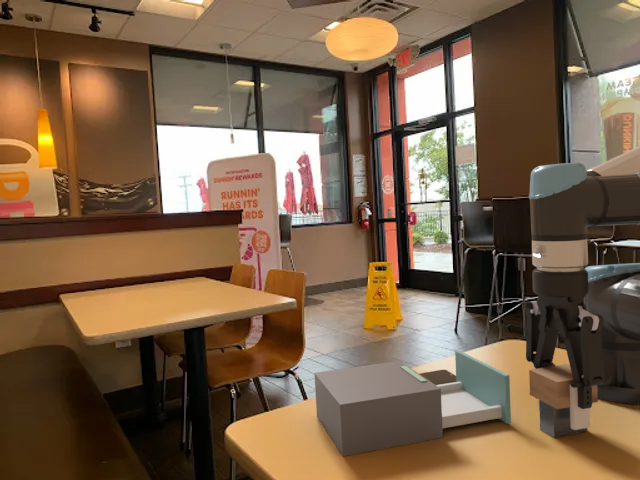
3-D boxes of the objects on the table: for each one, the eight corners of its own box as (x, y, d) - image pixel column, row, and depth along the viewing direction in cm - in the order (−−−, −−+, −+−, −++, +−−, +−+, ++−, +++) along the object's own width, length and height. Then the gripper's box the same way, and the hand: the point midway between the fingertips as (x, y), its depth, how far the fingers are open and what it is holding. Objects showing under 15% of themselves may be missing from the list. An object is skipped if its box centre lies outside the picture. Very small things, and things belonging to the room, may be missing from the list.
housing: (401, 401, 89) (399, 359, 88) (442, 437, 74) (440, 387, 74) (316, 415, 85) (314, 371, 84) (342, 456, 70) (339, 403, 70)
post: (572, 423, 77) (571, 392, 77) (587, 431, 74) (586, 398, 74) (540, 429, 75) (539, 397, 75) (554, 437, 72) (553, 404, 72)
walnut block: (567, 388, 78) (566, 363, 78) (597, 402, 72) (597, 375, 72) (530, 394, 76) (529, 369, 76) (557, 409, 71) (557, 382, 70)
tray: (460, 390, 92) (458, 350, 91) (510, 422, 77) (509, 375, 77) (381, 403, 88) (379, 361, 87) (419, 439, 73) (417, 389, 73)
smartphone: (374, 380, 99) (445, 368, 103) (374, 385, 100) (445, 373, 103) (388, 393, 92) (463, 379, 96) (388, 398, 92) (463, 385, 96)
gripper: (499, 264, 81) (503, 399, 83) (588, 277, 63) (592, 451, 64) (537, 260, 83) (541, 393, 85) (635, 272, 65) (638, 441, 66)
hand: (563, 418), depth 74 cm, fingers closed on walnut block, 6 cm apart
